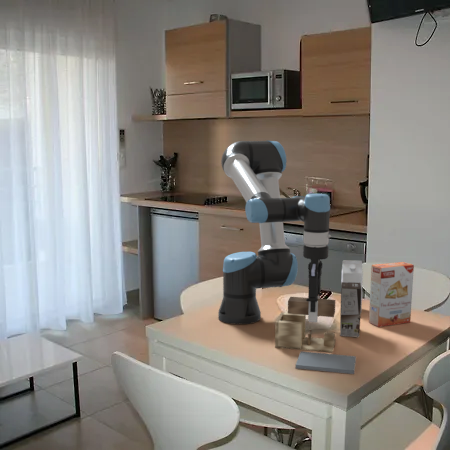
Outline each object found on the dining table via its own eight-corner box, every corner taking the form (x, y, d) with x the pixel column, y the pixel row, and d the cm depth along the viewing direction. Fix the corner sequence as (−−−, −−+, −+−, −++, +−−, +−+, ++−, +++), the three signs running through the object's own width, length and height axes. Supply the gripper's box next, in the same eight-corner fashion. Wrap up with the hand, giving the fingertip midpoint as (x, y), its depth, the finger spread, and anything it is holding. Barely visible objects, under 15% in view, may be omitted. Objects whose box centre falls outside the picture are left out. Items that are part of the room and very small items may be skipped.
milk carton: (340, 307, 225) (342, 258, 222) (359, 308, 224) (361, 259, 221) (341, 312, 218) (343, 262, 215) (361, 313, 217) (363, 262, 214)
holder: (274, 347, 182) (275, 322, 180) (280, 336, 192) (280, 312, 191) (332, 352, 177) (333, 326, 176) (335, 340, 187) (335, 316, 186)
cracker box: (379, 328, 200) (381, 267, 197) (368, 323, 206) (370, 264, 203) (411, 323, 206) (414, 264, 203) (400, 318, 211) (402, 260, 208)
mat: (295, 368, 165) (295, 364, 165) (300, 354, 175) (300, 351, 175) (354, 374, 161) (354, 370, 161) (355, 359, 171) (355, 356, 171)
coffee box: (360, 337, 191) (361, 288, 188) (339, 336, 192) (341, 287, 189) (359, 328, 199) (361, 282, 197) (340, 327, 201) (341, 281, 198)
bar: (287, 313, 182) (288, 300, 182) (290, 308, 187) (290, 296, 186) (333, 317, 179) (334, 304, 178) (334, 312, 184) (335, 299, 183)
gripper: (325, 251, 170) (323, 329, 173) (331, 240, 187) (328, 311, 191) (299, 249, 172) (297, 326, 175) (307, 239, 189) (305, 309, 193)
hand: (313, 318), depth 183 cm, fingers closed on bar, 5 cm apart
